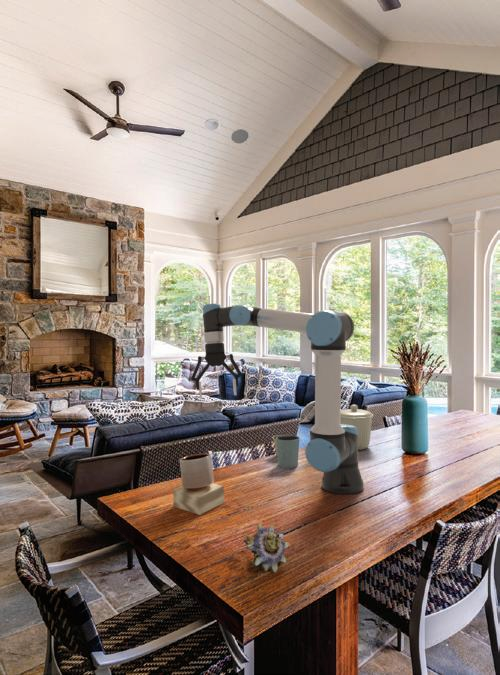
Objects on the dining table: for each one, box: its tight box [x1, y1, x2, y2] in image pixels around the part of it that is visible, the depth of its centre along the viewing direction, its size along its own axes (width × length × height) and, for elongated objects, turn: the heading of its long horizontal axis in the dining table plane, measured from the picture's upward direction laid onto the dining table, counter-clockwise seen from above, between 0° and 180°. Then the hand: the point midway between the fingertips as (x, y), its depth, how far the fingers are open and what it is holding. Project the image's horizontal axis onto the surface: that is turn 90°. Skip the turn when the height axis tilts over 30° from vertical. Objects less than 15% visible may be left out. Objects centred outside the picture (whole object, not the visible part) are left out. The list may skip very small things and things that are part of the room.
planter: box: [179, 452, 215, 489], centre depth 151 cm, size 11×11×10 cm
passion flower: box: [243, 522, 290, 574], centre depth 111 cm, size 11×11×12 cm
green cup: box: [276, 434, 300, 469], centre depth 192 cm, size 10×10×12 cm
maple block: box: [172, 482, 225, 516], centre depth 150 cm, size 12×12×6 cm
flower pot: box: [272, 434, 283, 457], centre depth 206 cm, size 9×9×9 cm
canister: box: [340, 404, 374, 451], centre depth 217 cm, size 18×18×21 cm
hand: (218, 396), depth 175 cm, fingers open, 13 cm apart
